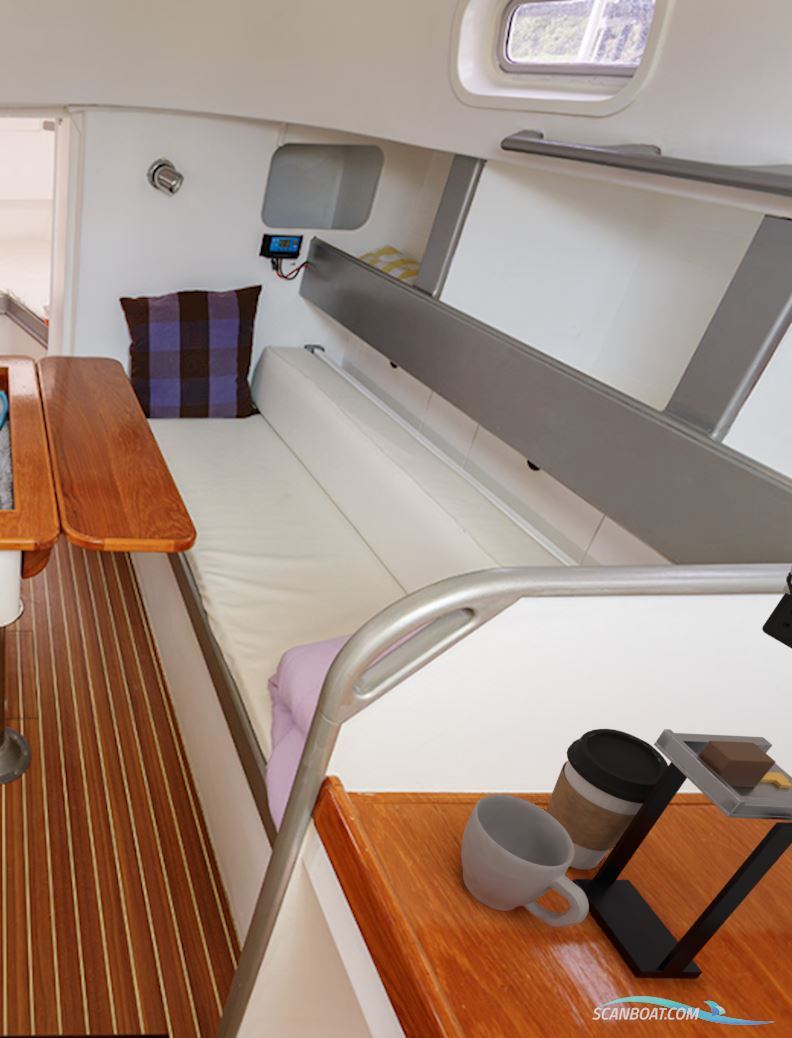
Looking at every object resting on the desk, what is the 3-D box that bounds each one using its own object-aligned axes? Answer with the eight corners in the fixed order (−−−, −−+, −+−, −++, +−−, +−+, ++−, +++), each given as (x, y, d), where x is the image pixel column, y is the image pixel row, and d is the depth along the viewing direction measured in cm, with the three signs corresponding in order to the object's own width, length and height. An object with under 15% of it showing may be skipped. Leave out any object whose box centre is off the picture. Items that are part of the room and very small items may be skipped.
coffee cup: (629, 866, 81) (694, 772, 74) (578, 890, 79) (641, 795, 71) (556, 807, 88) (609, 715, 81) (507, 828, 85) (558, 735, 78)
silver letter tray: (753, 749, 68) (765, 733, 67) (838, 822, 61) (853, 806, 60) (653, 744, 67) (664, 728, 66) (727, 817, 60) (740, 801, 59)
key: (710, 786, 63) (730, 759, 61) (689, 766, 65) (709, 740, 63) (794, 789, 63) (816, 763, 62) (771, 769, 65) (792, 744, 63)
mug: (426, 866, 81) (455, 807, 76) (482, 841, 84) (513, 783, 79) (528, 970, 71) (569, 910, 66) (588, 938, 74) (630, 878, 69)
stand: (623, 886, 79) (728, 739, 68) (697, 979, 71) (829, 828, 60) (569, 885, 79) (665, 737, 68) (636, 978, 71) (757, 826, 60)
